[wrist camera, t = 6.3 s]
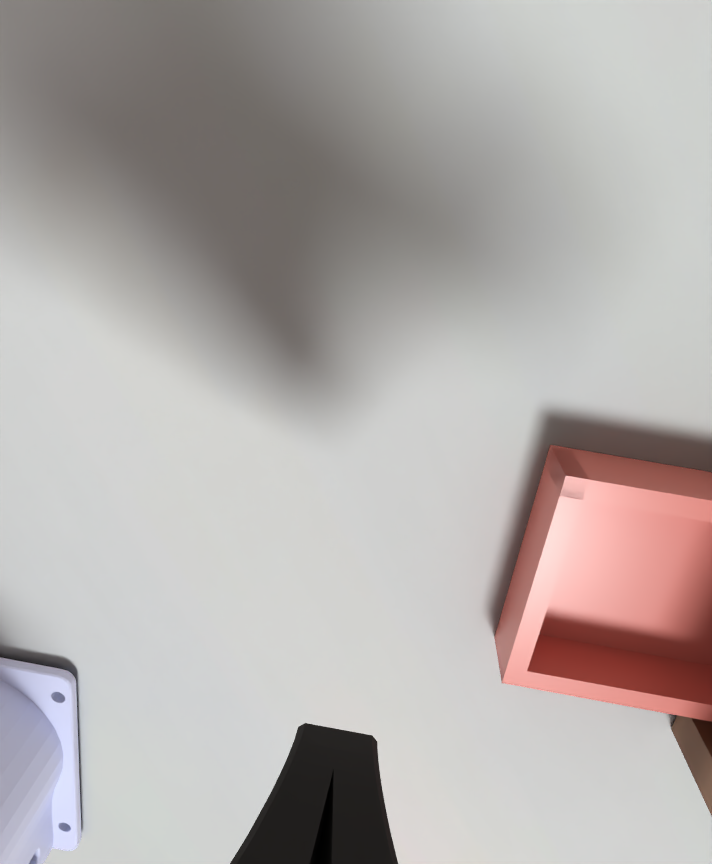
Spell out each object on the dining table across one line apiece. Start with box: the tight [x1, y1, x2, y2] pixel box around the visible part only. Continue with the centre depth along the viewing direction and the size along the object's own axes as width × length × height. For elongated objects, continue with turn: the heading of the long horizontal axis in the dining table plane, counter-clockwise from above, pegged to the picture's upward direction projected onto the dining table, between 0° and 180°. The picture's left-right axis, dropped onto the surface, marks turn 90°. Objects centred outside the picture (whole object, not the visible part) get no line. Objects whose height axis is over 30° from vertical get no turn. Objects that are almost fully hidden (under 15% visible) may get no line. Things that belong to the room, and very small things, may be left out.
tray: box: [495, 445, 712, 722], centre depth 18 cm, size 7×11×2 cm, turn 82°
